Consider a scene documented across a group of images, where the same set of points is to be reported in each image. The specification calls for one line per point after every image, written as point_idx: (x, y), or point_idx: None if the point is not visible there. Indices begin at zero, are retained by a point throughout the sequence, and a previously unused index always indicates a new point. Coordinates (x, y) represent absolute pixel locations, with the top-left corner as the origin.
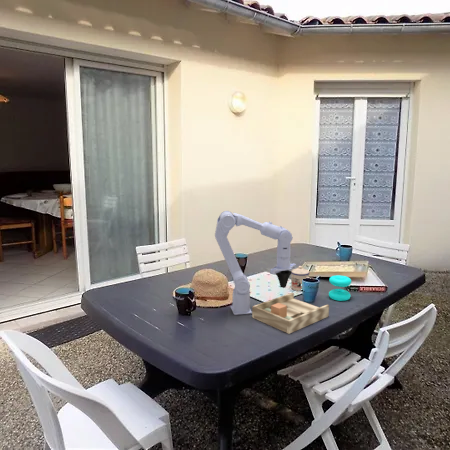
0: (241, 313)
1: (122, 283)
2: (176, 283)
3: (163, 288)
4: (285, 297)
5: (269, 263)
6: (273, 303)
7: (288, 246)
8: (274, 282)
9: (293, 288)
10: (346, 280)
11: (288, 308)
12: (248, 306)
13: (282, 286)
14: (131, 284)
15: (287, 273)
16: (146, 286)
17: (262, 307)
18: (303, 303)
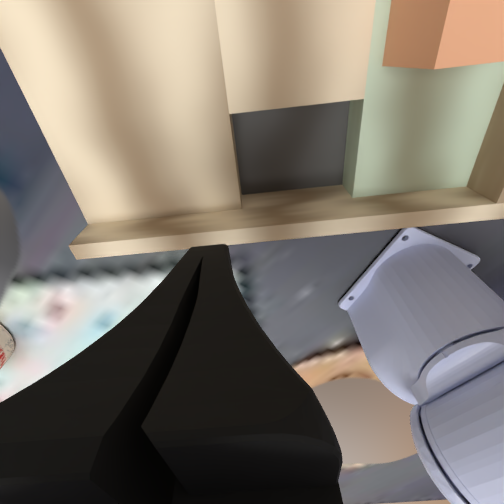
0: (455, 247)
1: (440, 499)
2: (353, 476)
3: (406, 468)
4: (167, 230)
5: None
6: (296, 210)
7: None
8: None
9: (6, 339)
10: None
11: (242, 94)
12: (427, 264)
13: (230, 267)
14: (433, 493)
15: (158, 446)
16: (422, 482)
17: (409, 199)
18: (58, 104)
